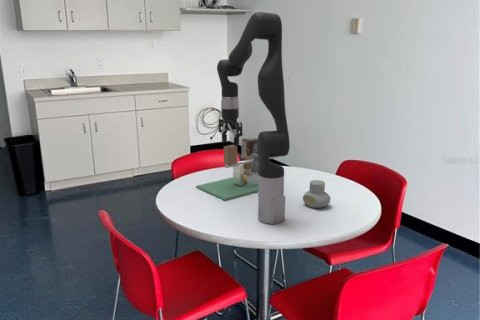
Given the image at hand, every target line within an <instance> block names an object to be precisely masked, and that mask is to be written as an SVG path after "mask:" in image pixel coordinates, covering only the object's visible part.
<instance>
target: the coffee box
mask: <svg viewBox="0 0 480 320" xmlns="http://www.w3.org/2000/svg"><path fill="white" fill-rule="evenodd" d="M240 141H241V161H246V160H250V159H251V153H257V154H258V138H242V139H241V140H240ZM244 169H246V170H249V171H251V163H248V164H244Z"/></svg>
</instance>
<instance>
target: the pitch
mask: <svg viewBox="0 0 480 320" xmlns="http://www.w3.org/2000/svg"><path fill="white" fill-rule="evenodd" d="M195 187H196V189H197V188H198V190H200V191H202V192H204V193H206V194H209V195H210V196H212V197H215V198H216V199H219V200H220V201H221V200H222V201H223V202H226V201H231V200H233V199H237V198H241V197H245V196H249V195H252V194H256V193H257V194H258V185H256V186H252V187H247V183H246V184H244V185H241V186H240V185H237V184H235V183H233V176H232V177H228V178H225V179H224V178H223V179H219V180H215V181H211V182H206V183H203V184H197V185H195Z"/></svg>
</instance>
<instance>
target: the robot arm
mask: <svg viewBox="0 0 480 320" xmlns="http://www.w3.org/2000/svg"><path fill="white" fill-rule="evenodd" d="M254 40H265V41H266V40H267V45H268V46H267V47H268V48H267V50H268V51H267V55H266V58H265V60H264V62H263V63H262V64H261V67H260V69H259V71H258V75H257V87H258V88H257V90H258V91H257V92H258V95H259V98H260V100H261V102H262V103H263V105H264V106H265V108H266V109H267V110H268V111H269V113H270V115H271V116H272V118H273V121H274V123H275V124H274V125H275V129H276V130H268V131H267V130H264V131H263V130H262V131H261V132H259V133H258V137H257V139H258V168H259V184H258V192H257V195H258V197H257V198H258V199H257V200H258V201H257V206H258V207H257V211H258V212H257V219H258V221H259V222H261V223H264V224H270V225H276V224H279V223H282V222H284V221H286V196H285V194H284V192H285V191H284V189H285V187H284V186H285V168H284V167H283V165H280V164H277V163H273V162H271V161H270V159H269V157H276V158H279V157H286V156H288V154H289V152H290V146H291V145H290V135H289V134H290V133H289V128H288V122H287V114H286V113H287V112H286V104H285V103H286V101H285V99H286V97H285V81H284V72H283V51H282V50H283V24H282V19H281V17H280V15H279V14H277V13H272V12H271V13H270V12H264V11H263V12H262V11H256V12H253V14H252V15H251V16H250V18H249V19H248V21H247V23H246V25H245V27H244V30H243V31H242V34H241V36H240V39H239V40H238V42H237V43H236V45H235V46H234V48H233V49H232V50H231V52H230V54H229V55H228V59H220V60H219V61H218V62H217V66H216V71H217V72H216V73H217V74H218V79H219V82H220V87H221V100H220V102H221V104H220V106H221V107H220V109H221V110H220V111H221V113H220V115H221V118H219V119H218V130H217V131H218V133H220V134H221V142H222V144H224V143H225V144H226V143H227V142H228V134H227V133H228V131H229V132H230V133H231V134H232V135H233V145H234V146H237V147H238V146H239V145H240V137H242V136H243V133H244V132H243V122H242V121H240V122H238V118H239V116H240V115H239V114H240V111H239V109H240V108H239V107H240V106H239V85H238V83H236V82H232V81H230V80H229V78H230V77H239V76H240V75H241V74H242V73H243V69H244V66H245V64H246V63H247V62H248V60H249V59H250V58H251V56H252V53H253V44H252V42H253V41H254ZM278 156H279V157H278Z"/></svg>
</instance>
